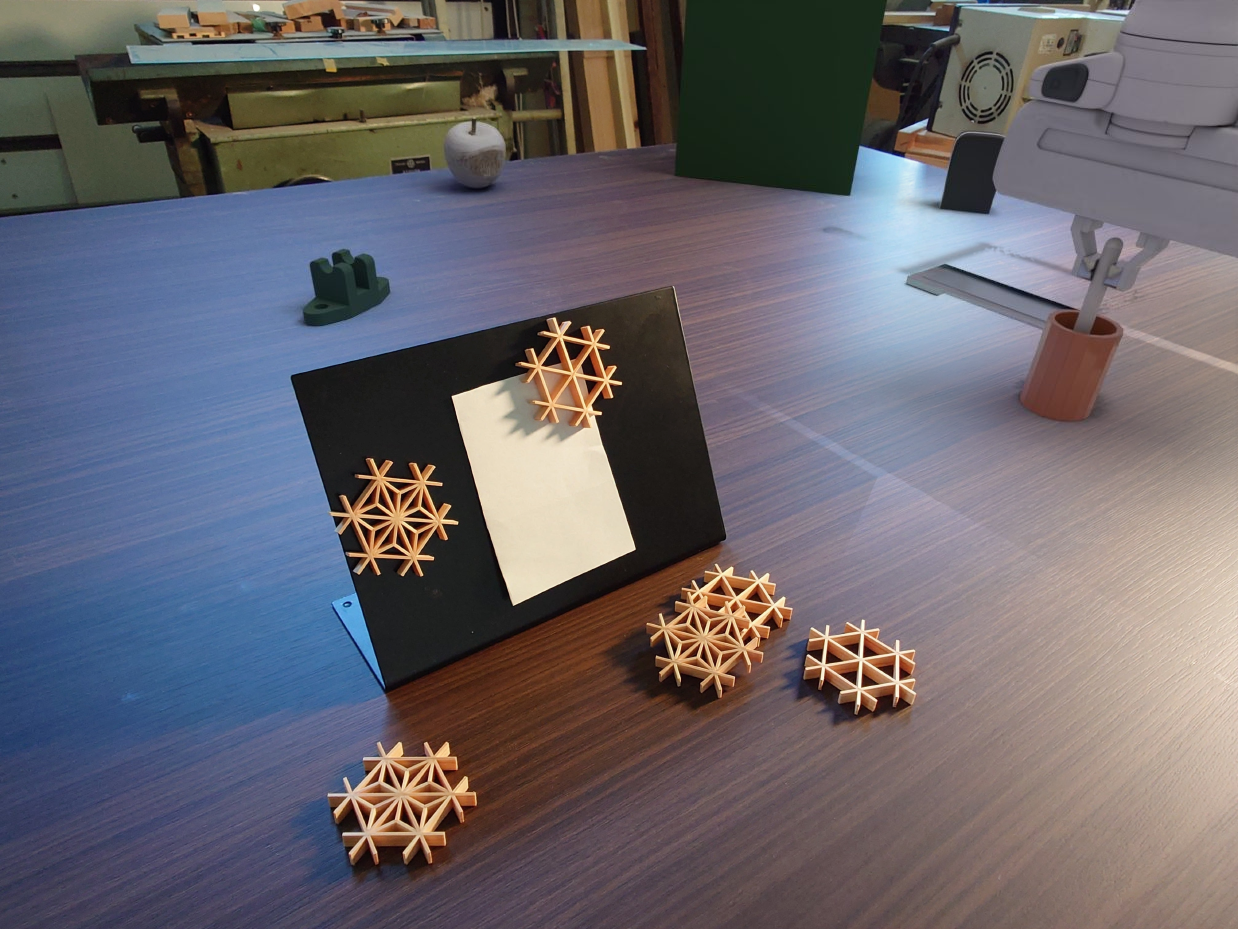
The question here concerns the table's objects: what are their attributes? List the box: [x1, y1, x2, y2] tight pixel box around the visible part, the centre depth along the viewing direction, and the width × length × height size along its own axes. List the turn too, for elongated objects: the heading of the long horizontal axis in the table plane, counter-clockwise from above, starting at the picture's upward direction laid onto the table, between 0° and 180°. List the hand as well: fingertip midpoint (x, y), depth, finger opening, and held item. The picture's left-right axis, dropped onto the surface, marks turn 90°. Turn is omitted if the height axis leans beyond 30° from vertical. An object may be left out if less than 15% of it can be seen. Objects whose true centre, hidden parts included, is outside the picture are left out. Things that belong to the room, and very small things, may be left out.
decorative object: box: [443, 116, 507, 189], centre depth 116 cm, size 9×9×10 cm
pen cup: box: [1019, 309, 1125, 423], centre depth 66 cm, size 5×5×8 cm
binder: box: [674, 0, 888, 196], centre depth 121 cm, size 27×15×32 cm, turn 74°
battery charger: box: [938, 129, 1006, 215], centre depth 110 cm, size 7×4×11 cm, turn 73°
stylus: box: [1073, 236, 1124, 334], centre depth 64 cm, size 1×1×13 cm
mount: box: [302, 248, 391, 327], centre depth 80 cm, size 11×4×5 cm, turn 153°
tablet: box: [905, 263, 1079, 331], centre depth 90 cm, size 18×16×1 cm
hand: (1100, 282), depth 62 cm, fingers closed on stylus, 1 cm apart
